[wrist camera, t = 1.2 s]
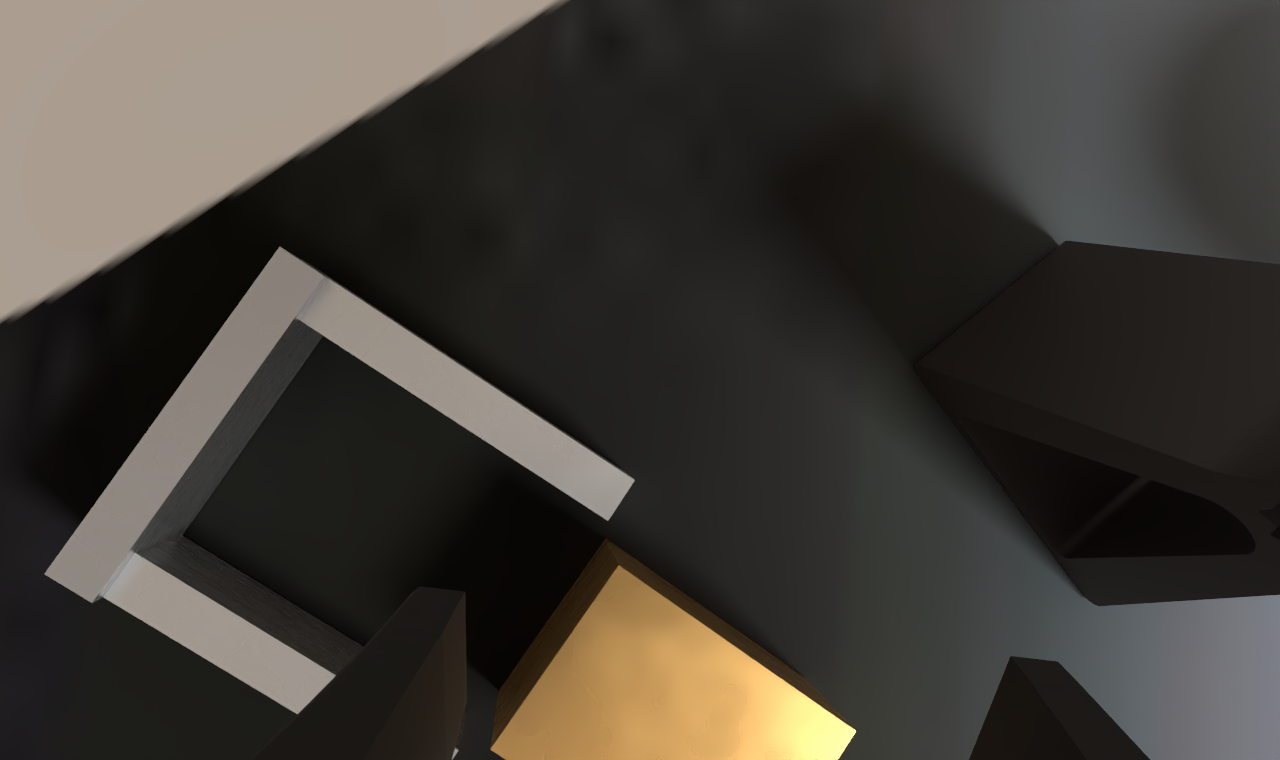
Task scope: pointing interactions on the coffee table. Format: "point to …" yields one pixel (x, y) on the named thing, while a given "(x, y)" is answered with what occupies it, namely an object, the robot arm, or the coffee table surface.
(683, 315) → the coffee table surface
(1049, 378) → the dark tent-shaped stand
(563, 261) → the coffee table surface
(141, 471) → the coupler channel
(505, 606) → the coffee table surface
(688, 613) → the block
